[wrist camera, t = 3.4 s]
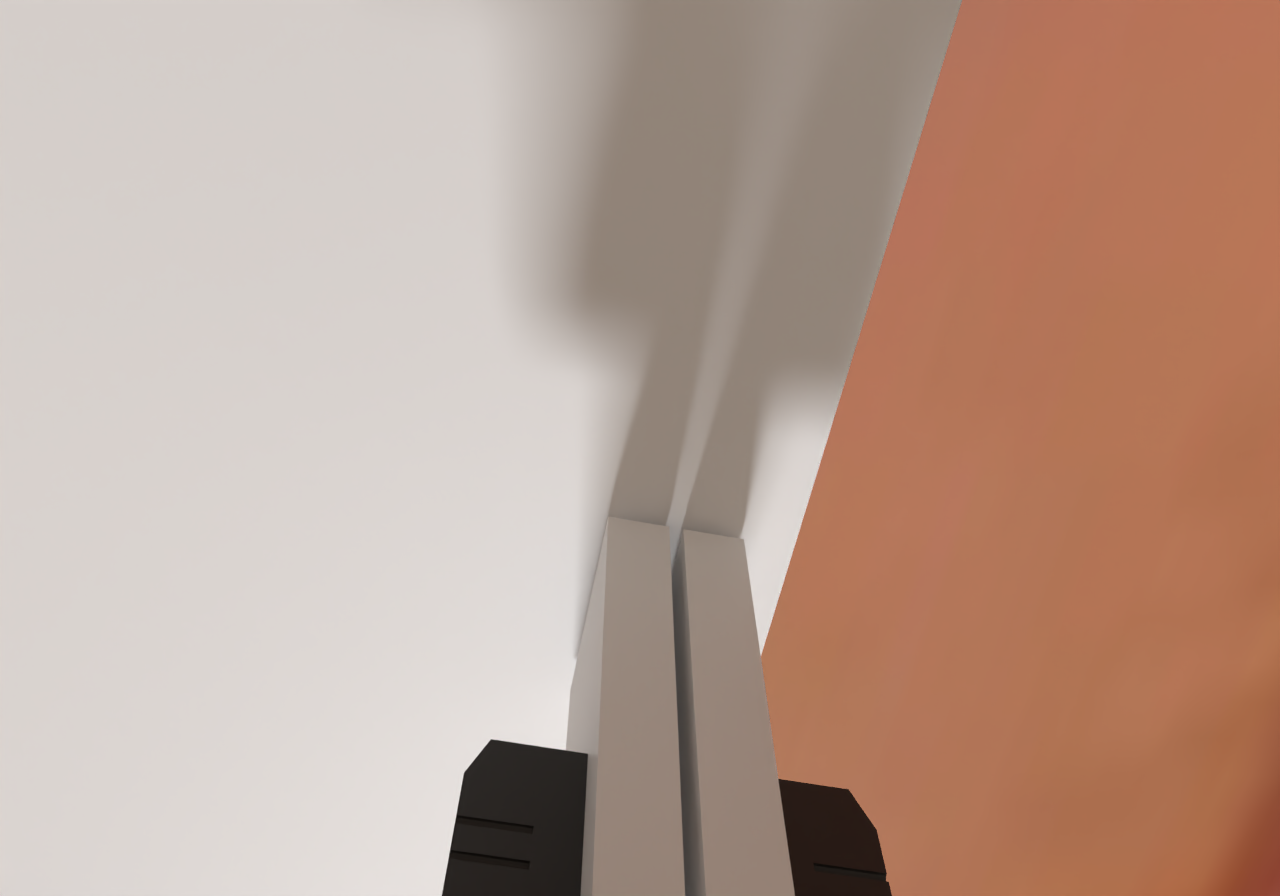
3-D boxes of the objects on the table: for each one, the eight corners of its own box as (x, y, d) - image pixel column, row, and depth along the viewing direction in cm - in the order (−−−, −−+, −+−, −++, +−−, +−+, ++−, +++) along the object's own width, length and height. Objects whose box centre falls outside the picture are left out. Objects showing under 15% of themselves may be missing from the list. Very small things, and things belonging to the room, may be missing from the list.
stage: (-507, 862, 21) (-621, 958, 19) (-1105, -866, 11) (-1466, -1002, 9) (616, 1081, 22) (605, 1193, 20) (1048, -366, 11) (1106, -403, 10)
